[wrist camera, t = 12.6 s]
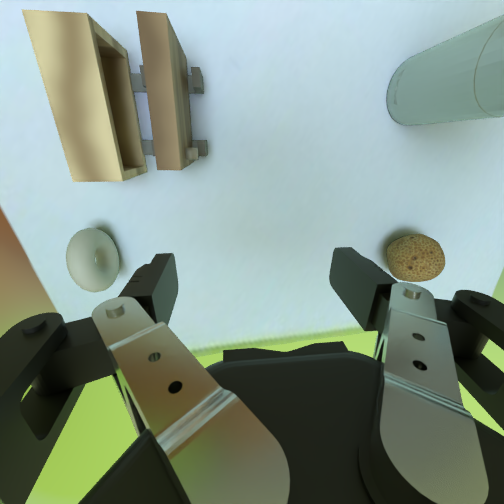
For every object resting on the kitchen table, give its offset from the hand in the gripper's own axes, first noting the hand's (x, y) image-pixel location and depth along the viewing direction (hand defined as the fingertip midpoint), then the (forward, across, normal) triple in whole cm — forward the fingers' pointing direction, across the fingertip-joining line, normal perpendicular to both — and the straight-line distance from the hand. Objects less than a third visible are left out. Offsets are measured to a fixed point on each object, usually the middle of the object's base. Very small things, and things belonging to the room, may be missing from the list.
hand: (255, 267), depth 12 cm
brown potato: (+30, -32, +13) cm, 46 cm away
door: (+30, +7, -9) cm, 32 cm away
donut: (+30, +22, +11) cm, 39 cm away
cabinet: (+30, +12, -9) cm, 33 cm away
